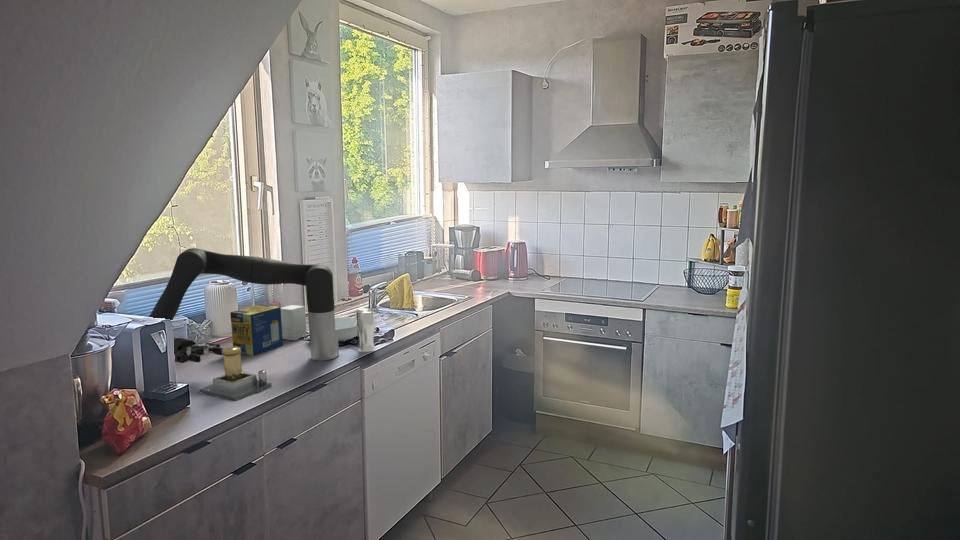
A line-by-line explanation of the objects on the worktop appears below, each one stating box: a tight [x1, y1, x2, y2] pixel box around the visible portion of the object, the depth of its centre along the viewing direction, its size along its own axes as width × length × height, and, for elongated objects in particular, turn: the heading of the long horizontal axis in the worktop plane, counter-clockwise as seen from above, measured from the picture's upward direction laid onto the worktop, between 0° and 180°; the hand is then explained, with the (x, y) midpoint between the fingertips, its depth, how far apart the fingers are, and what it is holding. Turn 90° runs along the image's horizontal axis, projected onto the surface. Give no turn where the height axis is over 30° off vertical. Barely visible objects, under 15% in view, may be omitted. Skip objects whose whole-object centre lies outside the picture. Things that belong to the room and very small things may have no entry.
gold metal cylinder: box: [221, 345, 243, 382], centre depth 198 cm, size 6×6×12 cm
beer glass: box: [355, 308, 376, 353], centre depth 238 cm, size 7×7×15 cm
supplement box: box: [281, 304, 308, 341], centre depth 258 cm, size 7×7×13 cm
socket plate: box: [198, 369, 272, 402], centre depth 199 cm, size 14×16×5 cm
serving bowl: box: [335, 316, 358, 342], centre depth 255 cm, size 21×21×7 cm
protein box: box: [229, 303, 284, 357], centre depth 242 cm, size 10×15×16 cm
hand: (211, 355), depth 202 cm, fingers open, 8 cm apart
